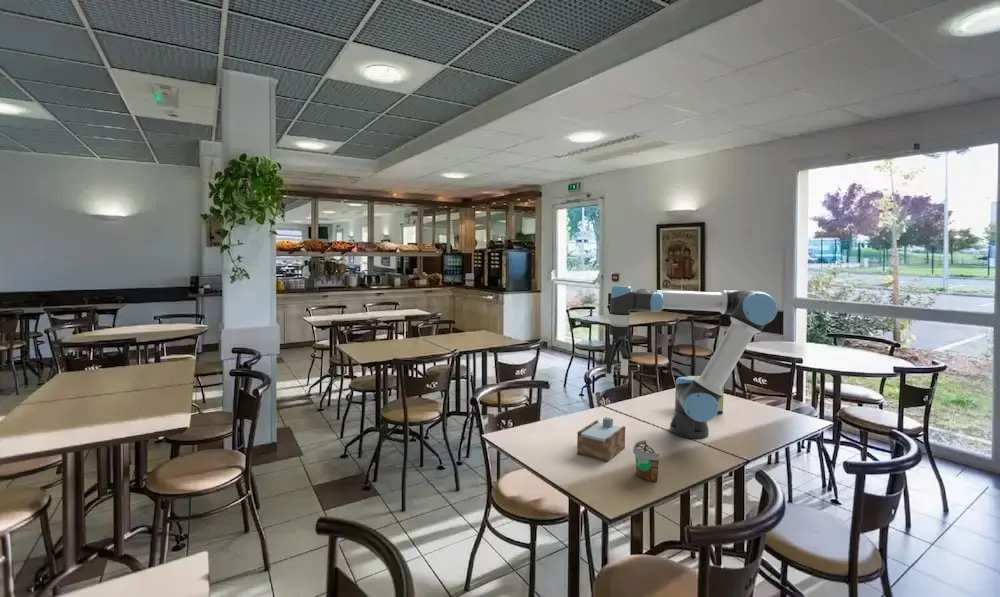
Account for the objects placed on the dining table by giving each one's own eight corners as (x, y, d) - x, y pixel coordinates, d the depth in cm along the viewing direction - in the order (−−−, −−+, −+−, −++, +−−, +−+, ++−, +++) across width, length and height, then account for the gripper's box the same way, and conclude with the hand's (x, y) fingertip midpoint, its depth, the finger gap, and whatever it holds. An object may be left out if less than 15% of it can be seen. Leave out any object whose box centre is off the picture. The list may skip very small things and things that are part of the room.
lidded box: (596, 440, 195) (596, 420, 194) (624, 448, 187) (625, 426, 187) (577, 454, 182) (577, 431, 181) (607, 462, 175) (607, 439, 174)
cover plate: (598, 424, 193) (598, 414, 193) (621, 430, 187) (622, 419, 187) (580, 436, 181) (580, 425, 180) (605, 442, 175) (605, 431, 175)
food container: (627, 468, 170) (628, 440, 169) (644, 467, 170) (645, 439, 169) (640, 484, 158) (641, 454, 157) (659, 484, 158) (659, 454, 157)
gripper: (623, 321, 204) (621, 371, 206) (596, 327, 184) (593, 382, 186) (641, 322, 199) (638, 374, 201) (614, 329, 180) (611, 386, 182)
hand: (616, 378), depth 194 cm, fingers open, 13 cm apart
